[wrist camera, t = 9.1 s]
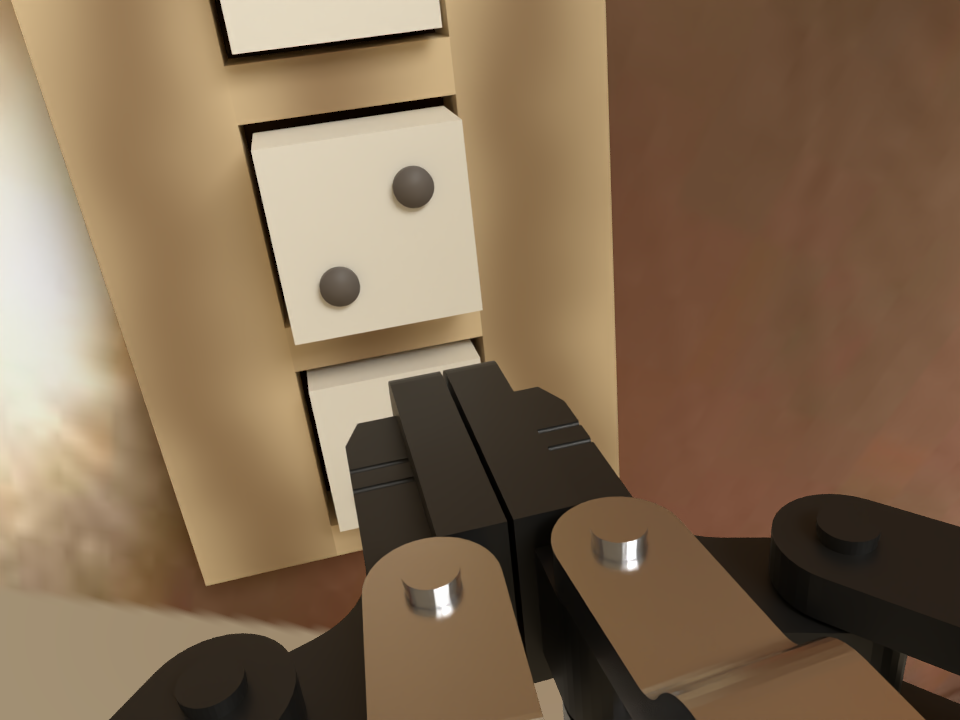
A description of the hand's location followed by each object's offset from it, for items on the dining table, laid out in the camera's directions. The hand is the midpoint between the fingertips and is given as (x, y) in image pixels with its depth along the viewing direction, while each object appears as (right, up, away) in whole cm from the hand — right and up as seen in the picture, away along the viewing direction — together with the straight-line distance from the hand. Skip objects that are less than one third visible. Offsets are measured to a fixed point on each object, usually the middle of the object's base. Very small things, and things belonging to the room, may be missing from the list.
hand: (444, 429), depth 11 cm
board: (-3, +6, +12) cm, 14 cm away
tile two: (-3, +5, +11) cm, 12 cm away
